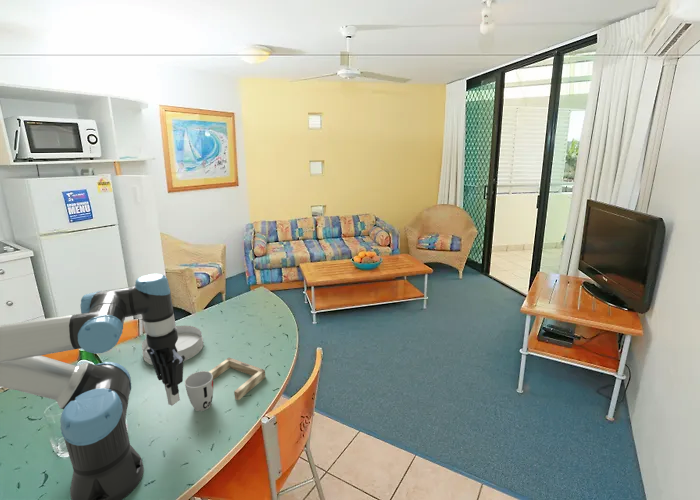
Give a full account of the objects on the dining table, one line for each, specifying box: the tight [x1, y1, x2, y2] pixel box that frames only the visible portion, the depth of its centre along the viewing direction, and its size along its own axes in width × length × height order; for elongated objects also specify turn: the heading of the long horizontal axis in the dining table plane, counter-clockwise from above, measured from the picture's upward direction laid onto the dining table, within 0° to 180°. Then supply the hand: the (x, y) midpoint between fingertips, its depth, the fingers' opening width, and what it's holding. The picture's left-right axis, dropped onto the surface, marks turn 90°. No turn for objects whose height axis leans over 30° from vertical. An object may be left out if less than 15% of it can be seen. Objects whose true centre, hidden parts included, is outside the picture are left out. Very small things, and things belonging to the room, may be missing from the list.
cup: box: [184, 370, 214, 412], centre depth 116 cm, size 8×8×10 cm
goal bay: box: [208, 357, 266, 401], centre depth 129 cm, size 14×17×3 cm
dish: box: [141, 325, 204, 366], centre depth 148 cm, size 22×22×5 cm
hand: (174, 402), depth 107 cm, fingers closed
